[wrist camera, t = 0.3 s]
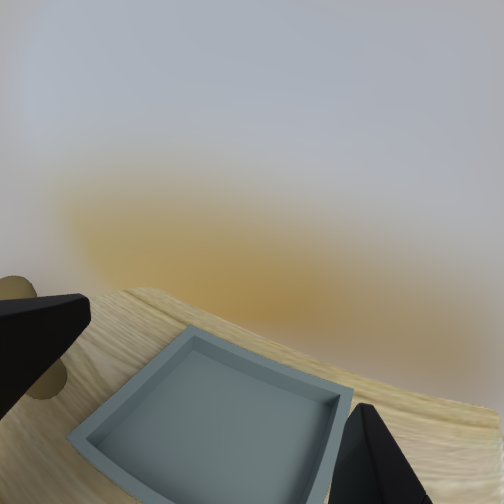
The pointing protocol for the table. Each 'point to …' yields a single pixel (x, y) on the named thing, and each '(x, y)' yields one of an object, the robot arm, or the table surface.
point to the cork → (57, 372)
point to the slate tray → (217, 428)
